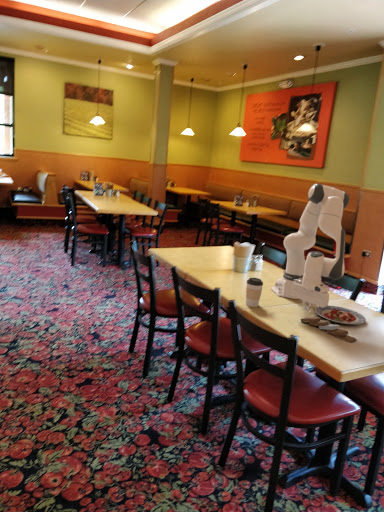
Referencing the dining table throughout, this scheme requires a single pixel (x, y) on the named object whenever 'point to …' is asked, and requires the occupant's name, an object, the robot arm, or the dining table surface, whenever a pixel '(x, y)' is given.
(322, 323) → the tile
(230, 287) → the dining table surface
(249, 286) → the coffee cup
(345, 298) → the dining table surface
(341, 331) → the tile
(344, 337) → the tile
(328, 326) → the tile
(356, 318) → the ceramic plate
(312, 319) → the tile
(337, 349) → the dining table surface
